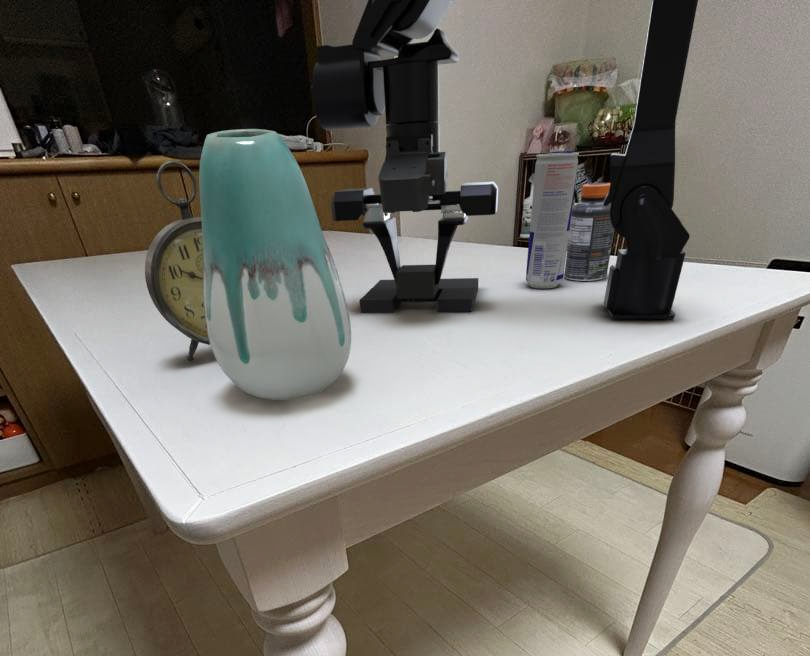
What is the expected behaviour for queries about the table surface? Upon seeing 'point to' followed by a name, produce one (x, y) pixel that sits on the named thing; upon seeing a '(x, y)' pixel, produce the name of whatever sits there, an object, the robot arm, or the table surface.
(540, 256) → the beverage can
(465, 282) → the base pad
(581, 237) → the pill bottle
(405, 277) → the pad
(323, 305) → the vase
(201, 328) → the alarm clock
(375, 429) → the table surface
